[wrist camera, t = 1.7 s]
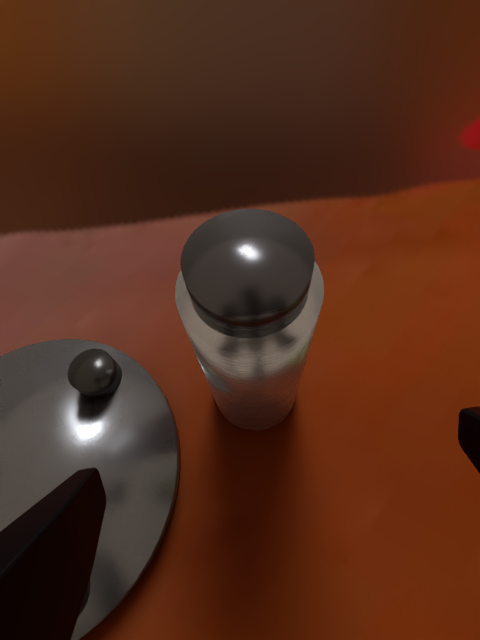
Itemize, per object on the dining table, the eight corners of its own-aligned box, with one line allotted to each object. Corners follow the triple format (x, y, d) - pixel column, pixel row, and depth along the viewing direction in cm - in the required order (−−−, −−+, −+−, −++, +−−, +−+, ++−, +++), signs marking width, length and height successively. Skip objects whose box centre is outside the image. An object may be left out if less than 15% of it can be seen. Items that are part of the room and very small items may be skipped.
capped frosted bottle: (274, 446, 19) (288, 360, 9) (199, 406, 21) (130, 287, 10) (308, 372, 21) (356, 227, 11) (238, 339, 23) (217, 181, 12)
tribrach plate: (40, 765, 14) (-1, 812, 12) (-174, 541, 18) (-233, 544, 16) (232, 414, 20) (228, 402, 18) (39, 311, 25) (18, 291, 23)
